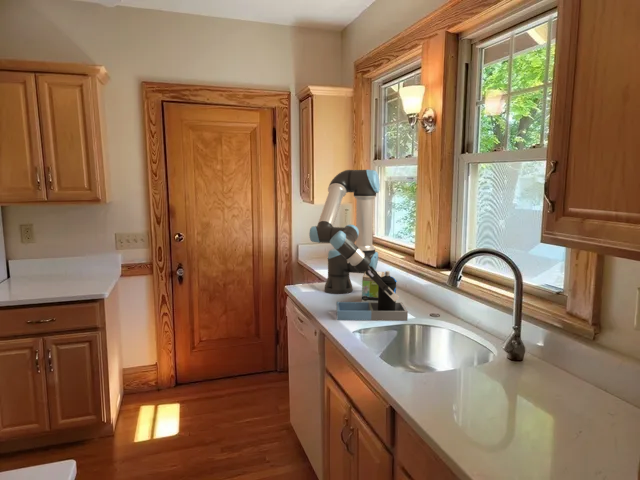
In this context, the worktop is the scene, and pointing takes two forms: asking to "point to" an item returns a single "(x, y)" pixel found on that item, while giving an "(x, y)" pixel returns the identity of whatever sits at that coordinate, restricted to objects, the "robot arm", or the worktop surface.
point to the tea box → (370, 288)
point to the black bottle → (383, 299)
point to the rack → (370, 312)
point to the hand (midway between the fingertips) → (395, 296)
